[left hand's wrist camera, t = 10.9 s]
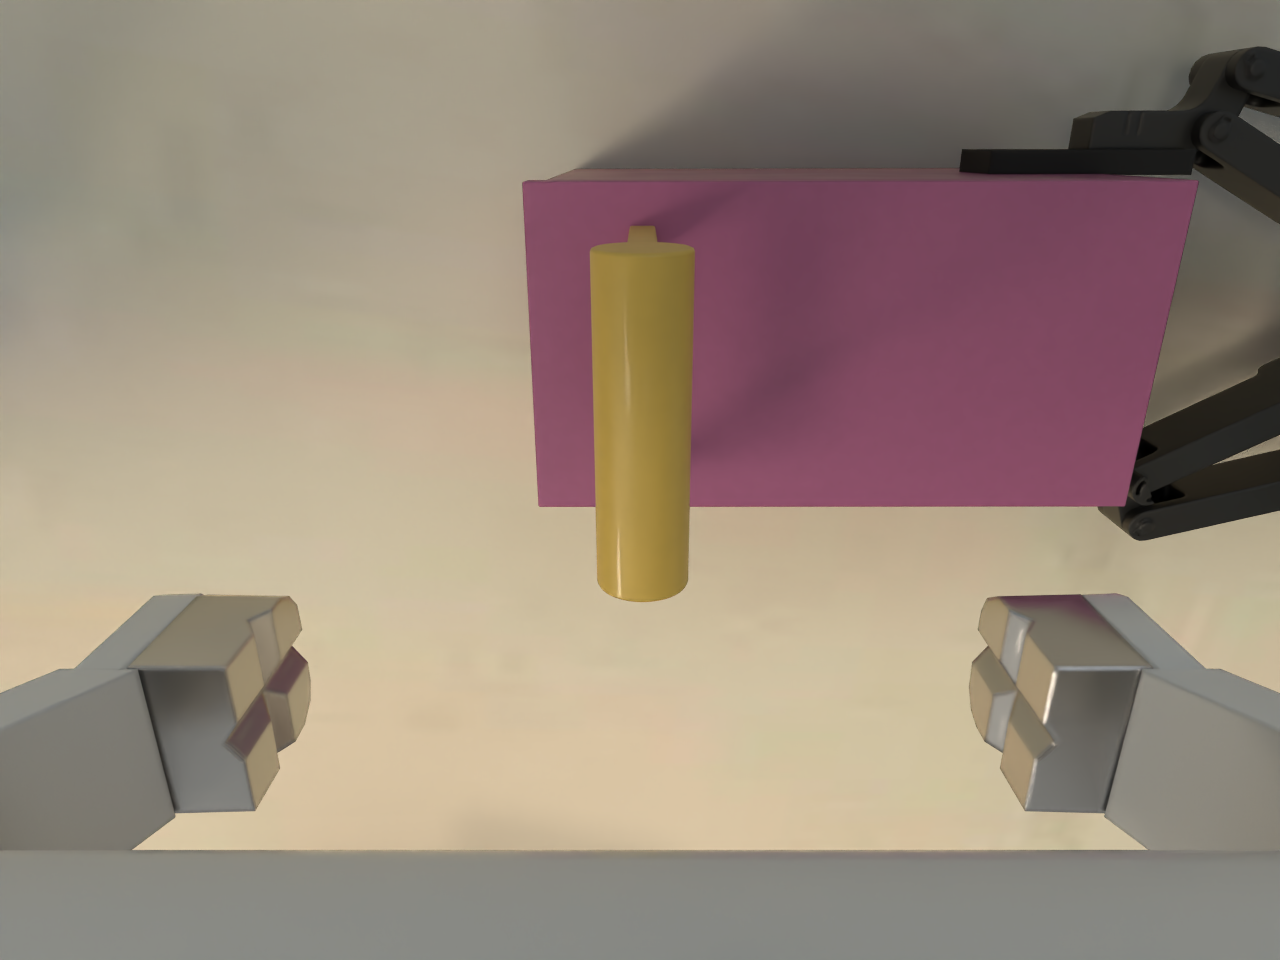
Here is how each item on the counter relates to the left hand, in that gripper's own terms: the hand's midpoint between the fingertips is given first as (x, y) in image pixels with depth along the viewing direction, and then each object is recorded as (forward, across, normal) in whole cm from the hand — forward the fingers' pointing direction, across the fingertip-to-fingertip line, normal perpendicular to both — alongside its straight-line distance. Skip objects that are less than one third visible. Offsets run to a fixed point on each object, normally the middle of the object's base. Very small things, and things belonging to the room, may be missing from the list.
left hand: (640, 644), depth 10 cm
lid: (+16, -6, 0) cm, 17 cm away
